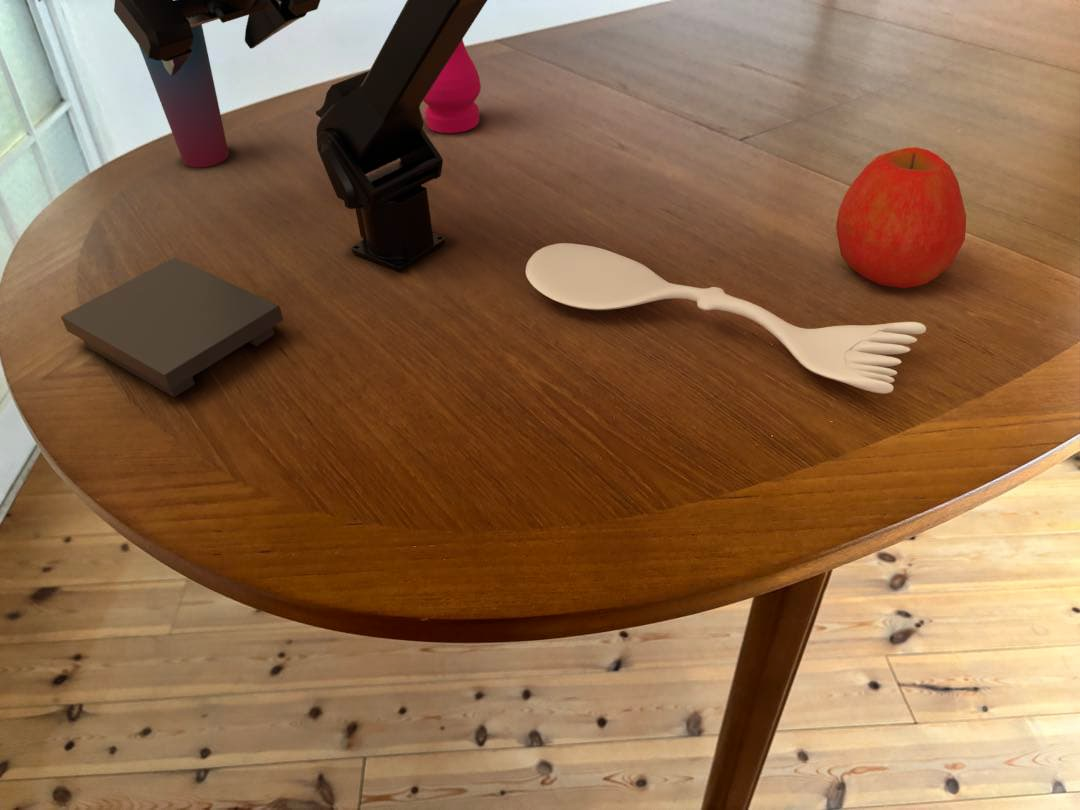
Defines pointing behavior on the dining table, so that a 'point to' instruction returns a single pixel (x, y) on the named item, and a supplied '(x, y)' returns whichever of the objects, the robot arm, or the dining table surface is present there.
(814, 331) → the spoon
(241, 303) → the grey footed tile
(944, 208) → the apple
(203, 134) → the cup
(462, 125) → the pepper mill
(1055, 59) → the dining table surface
